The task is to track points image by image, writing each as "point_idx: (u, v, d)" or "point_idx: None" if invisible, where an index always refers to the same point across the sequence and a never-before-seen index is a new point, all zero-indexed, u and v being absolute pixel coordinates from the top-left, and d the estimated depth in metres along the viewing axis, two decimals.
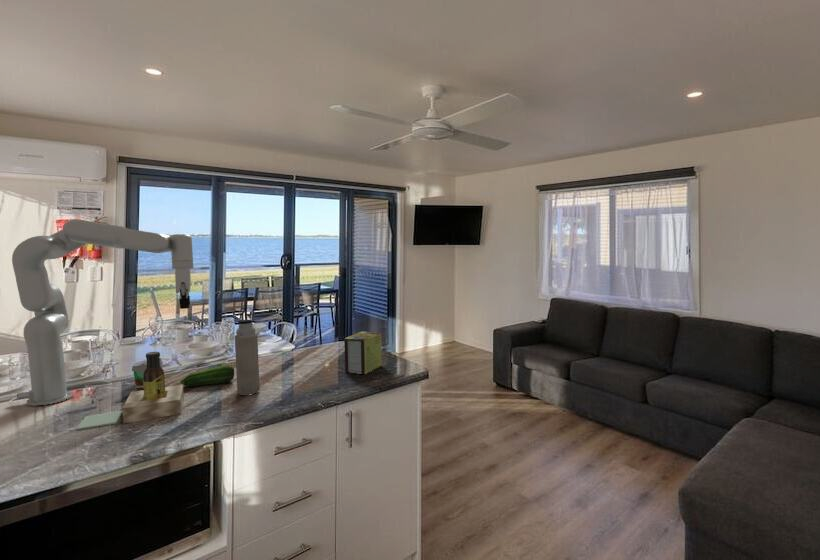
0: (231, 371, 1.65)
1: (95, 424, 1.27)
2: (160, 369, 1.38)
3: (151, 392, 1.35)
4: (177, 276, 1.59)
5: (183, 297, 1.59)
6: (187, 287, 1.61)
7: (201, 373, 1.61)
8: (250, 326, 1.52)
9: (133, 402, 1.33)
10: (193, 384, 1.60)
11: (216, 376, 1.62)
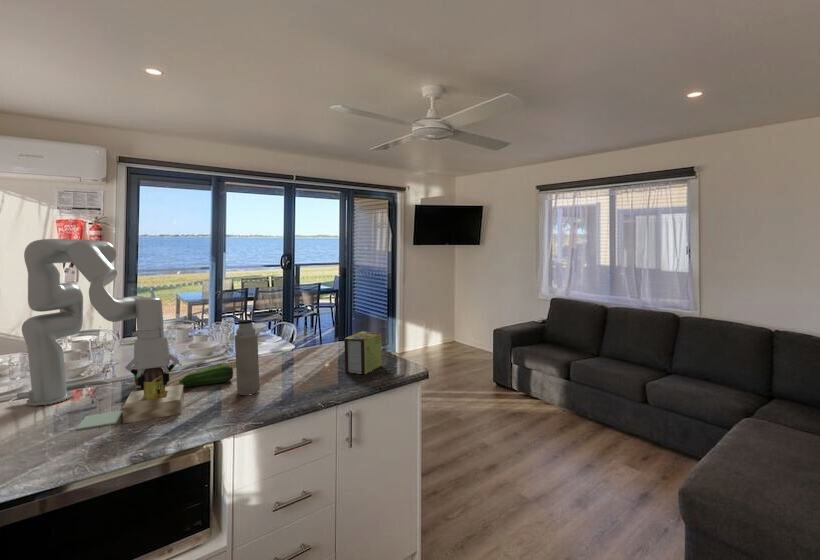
0: (230, 371, 1.65)
1: (95, 424, 1.27)
2: (160, 369, 1.38)
3: (150, 392, 1.35)
4: (167, 345, 1.37)
5: (170, 370, 1.40)
6: None
7: (200, 373, 1.61)
8: (250, 326, 1.52)
9: (133, 402, 1.33)
10: (192, 384, 1.60)
11: (216, 376, 1.62)
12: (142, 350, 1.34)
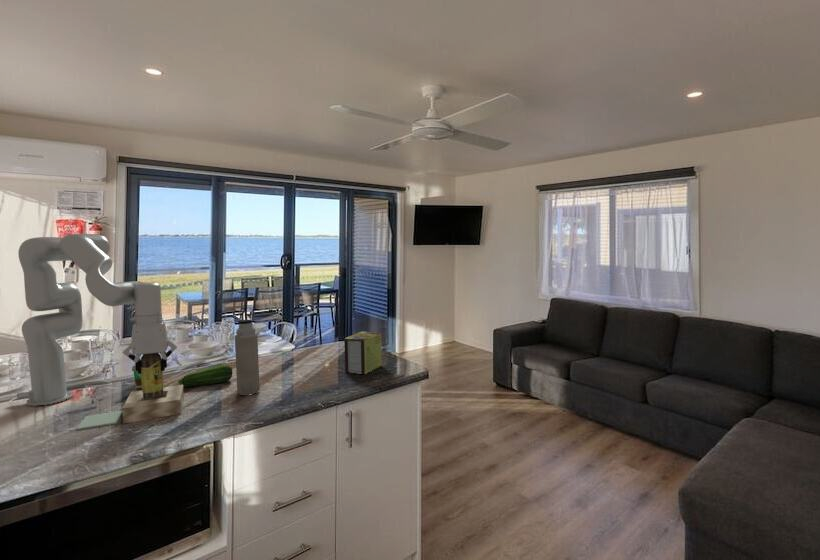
0: (229, 370, 1.65)
1: (95, 424, 1.27)
2: (157, 355, 1.37)
3: (148, 377, 1.35)
4: (165, 331, 1.37)
5: (168, 356, 1.39)
6: None
7: (199, 373, 1.61)
8: (250, 326, 1.52)
9: (133, 402, 1.33)
10: (191, 384, 1.60)
11: (215, 376, 1.62)
12: (140, 335, 1.33)
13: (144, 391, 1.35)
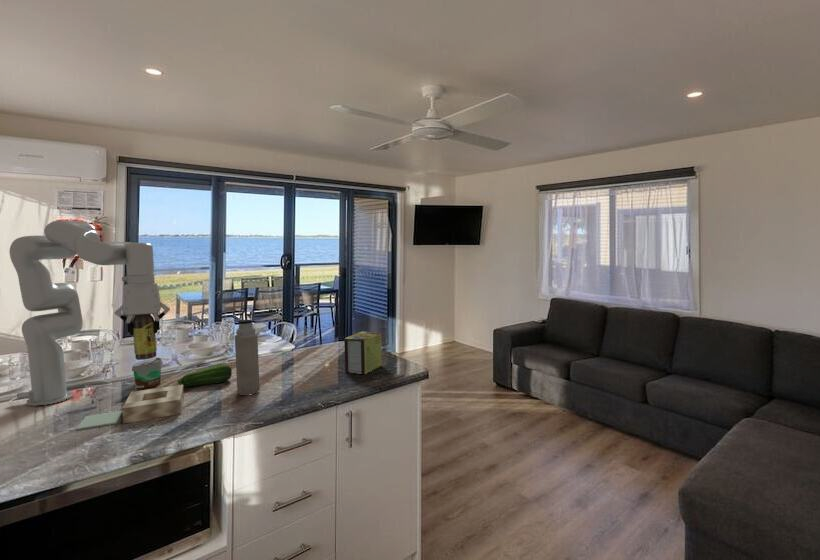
0: (229, 370, 1.66)
1: (95, 424, 1.27)
2: (150, 316, 1.35)
3: (141, 339, 1.33)
4: (157, 292, 1.35)
5: (160, 318, 1.37)
6: None
7: (199, 373, 1.62)
8: (250, 326, 1.52)
9: (133, 402, 1.33)
10: (191, 384, 1.60)
11: (215, 376, 1.62)
12: (132, 295, 1.31)
13: (136, 353, 1.33)
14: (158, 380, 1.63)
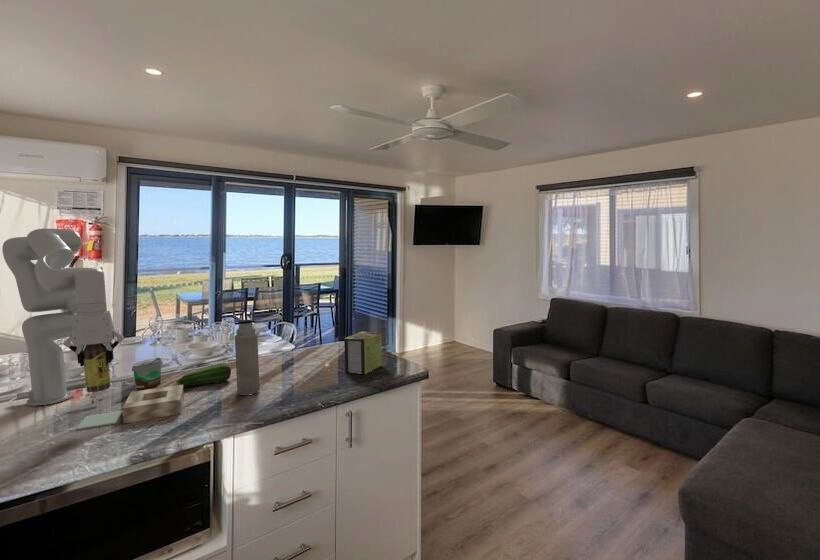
0: (228, 370, 1.66)
1: (95, 424, 1.27)
2: (102, 346, 1.29)
3: (91, 370, 1.26)
4: (109, 320, 1.28)
5: (114, 347, 1.31)
6: None
7: (198, 373, 1.62)
8: (250, 326, 1.52)
9: (133, 402, 1.33)
10: (190, 384, 1.60)
11: (214, 375, 1.63)
12: (81, 325, 1.24)
13: (87, 385, 1.27)
14: (158, 380, 1.63)
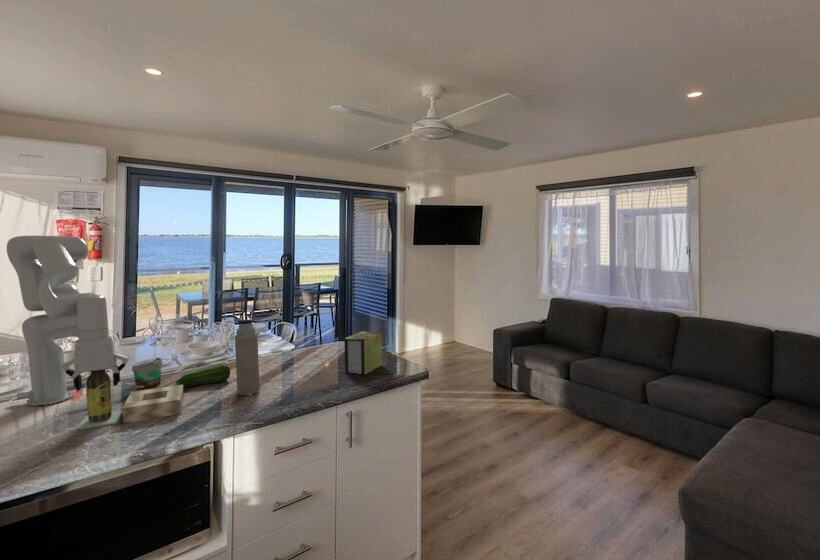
0: (227, 370, 1.66)
1: (95, 424, 1.27)
2: (105, 375, 1.30)
3: (94, 399, 1.27)
4: (111, 346, 1.29)
5: (121, 369, 1.32)
6: None
7: (197, 373, 1.62)
8: (250, 326, 1.52)
9: (133, 402, 1.33)
10: (189, 384, 1.60)
11: (213, 375, 1.63)
12: (83, 351, 1.25)
13: (89, 414, 1.28)
14: (158, 380, 1.63)
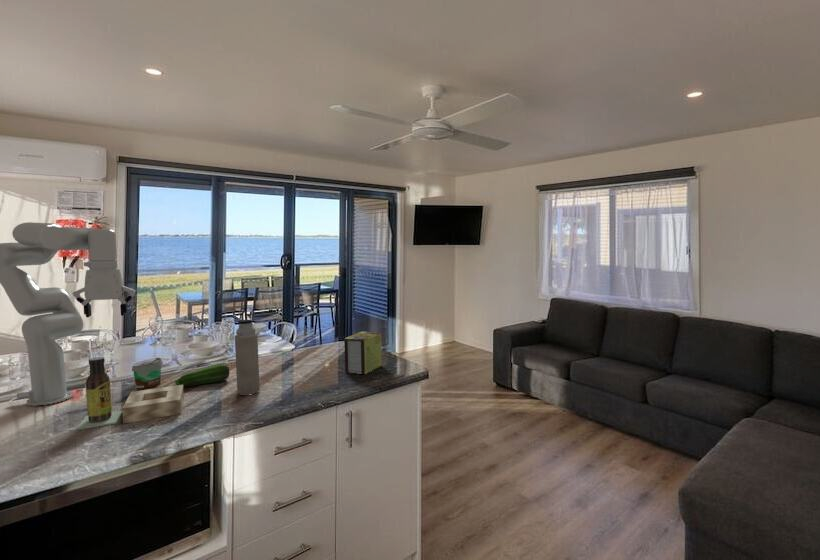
0: (227, 369, 1.67)
1: (95, 424, 1.27)
2: (104, 376, 1.30)
3: (93, 400, 1.27)
4: (119, 278, 1.36)
5: None
6: (123, 290, 1.40)
7: (197, 373, 1.62)
8: (250, 326, 1.52)
9: (133, 402, 1.33)
10: (189, 384, 1.60)
11: (213, 375, 1.63)
12: (93, 280, 1.33)
13: (89, 414, 1.28)
14: (158, 380, 1.63)
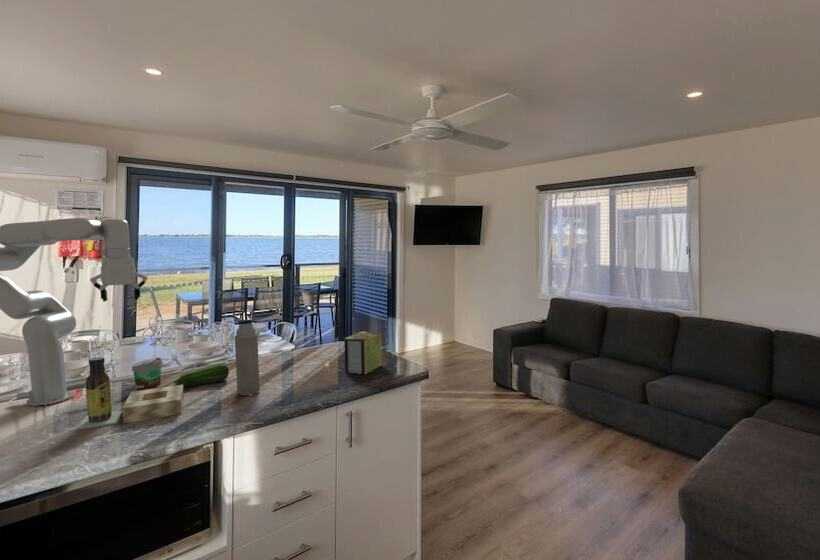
0: (226, 369, 1.67)
1: (95, 424, 1.27)
2: (104, 376, 1.30)
3: (93, 400, 1.27)
4: (133, 265, 1.48)
5: (141, 286, 1.51)
6: (136, 276, 1.52)
7: (196, 373, 1.62)
8: (250, 326, 1.52)
9: (133, 402, 1.33)
10: (188, 384, 1.60)
11: (212, 375, 1.63)
12: (109, 267, 1.44)
13: (89, 414, 1.28)
14: (158, 380, 1.63)
